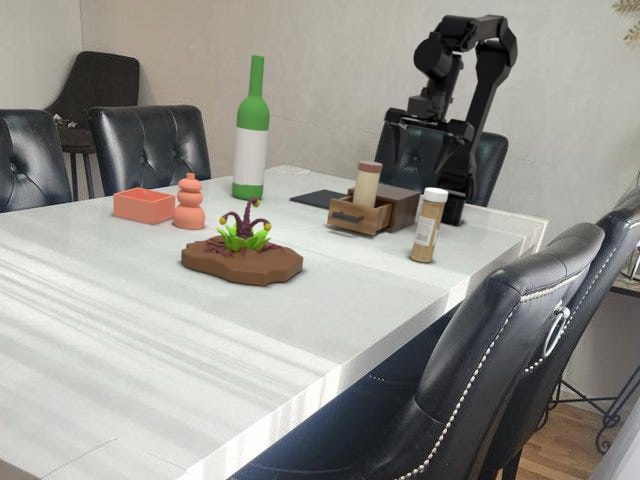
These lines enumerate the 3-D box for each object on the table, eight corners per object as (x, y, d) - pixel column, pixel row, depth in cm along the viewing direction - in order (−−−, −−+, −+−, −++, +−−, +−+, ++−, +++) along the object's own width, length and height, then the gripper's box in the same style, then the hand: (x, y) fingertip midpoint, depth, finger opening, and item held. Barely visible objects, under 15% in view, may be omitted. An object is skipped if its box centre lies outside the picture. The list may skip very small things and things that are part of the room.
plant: (319, 269, 119) (328, 204, 112) (260, 292, 104) (267, 219, 98) (231, 243, 126) (235, 181, 120) (164, 261, 112) (165, 192, 106)
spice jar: (436, 262, 132) (453, 192, 124) (420, 263, 130) (437, 192, 122) (420, 255, 135) (437, 186, 127) (404, 257, 133) (420, 186, 125)
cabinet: (391, 233, 149) (398, 200, 145) (342, 220, 153) (347, 188, 149) (414, 222, 161) (421, 192, 157) (368, 211, 165) (373, 181, 161)
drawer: (365, 238, 138) (370, 212, 135) (318, 226, 142) (322, 201, 139) (396, 225, 152) (401, 201, 149) (352, 214, 156) (356, 191, 153)
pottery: (113, 215, 133) (112, 163, 127) (137, 208, 141) (137, 158, 135) (192, 233, 129) (194, 180, 124) (212, 224, 137) (215, 173, 131)
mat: (324, 191, 181) (324, 189, 180) (390, 206, 174) (390, 204, 173) (289, 200, 166) (290, 197, 165) (360, 217, 159) (361, 214, 158)
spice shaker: (354, 216, 149) (364, 159, 143) (375, 221, 147) (386, 164, 141) (345, 219, 145) (354, 161, 139) (366, 225, 144) (377, 166, 137)
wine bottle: (261, 202, 159) (275, 58, 143) (230, 198, 159) (239, 53, 142) (262, 196, 166) (275, 57, 149) (232, 192, 165) (242, 52, 149)
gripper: (384, 68, 131) (361, 151, 137) (470, 81, 123) (441, 169, 129) (406, 85, 140) (383, 162, 146) (486, 98, 132) (459, 180, 138)
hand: (415, 168), depth 139 cm, fingers open, 9 cm apart
